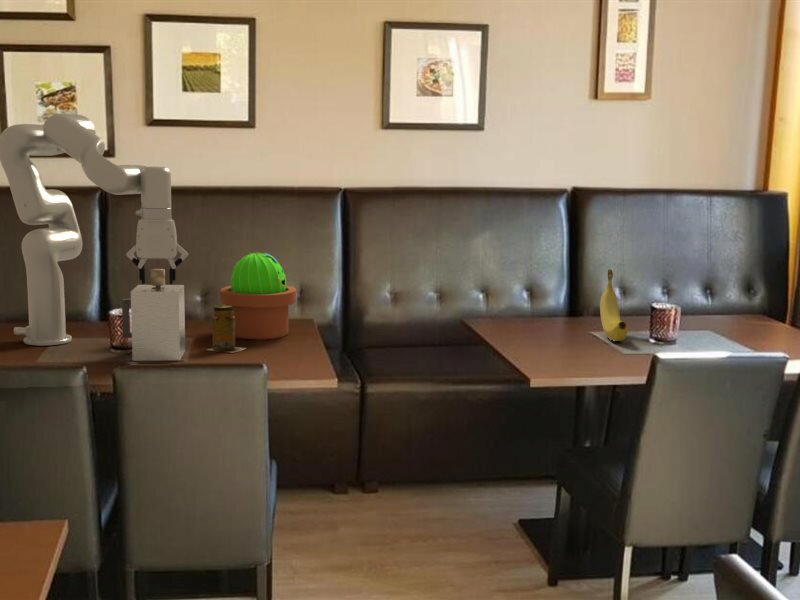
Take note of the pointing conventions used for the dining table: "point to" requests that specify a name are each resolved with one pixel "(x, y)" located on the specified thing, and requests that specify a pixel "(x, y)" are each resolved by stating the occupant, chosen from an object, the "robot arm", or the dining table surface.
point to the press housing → (155, 322)
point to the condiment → (224, 330)
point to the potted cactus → (259, 297)
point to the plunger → (157, 278)
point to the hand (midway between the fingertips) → (158, 282)
